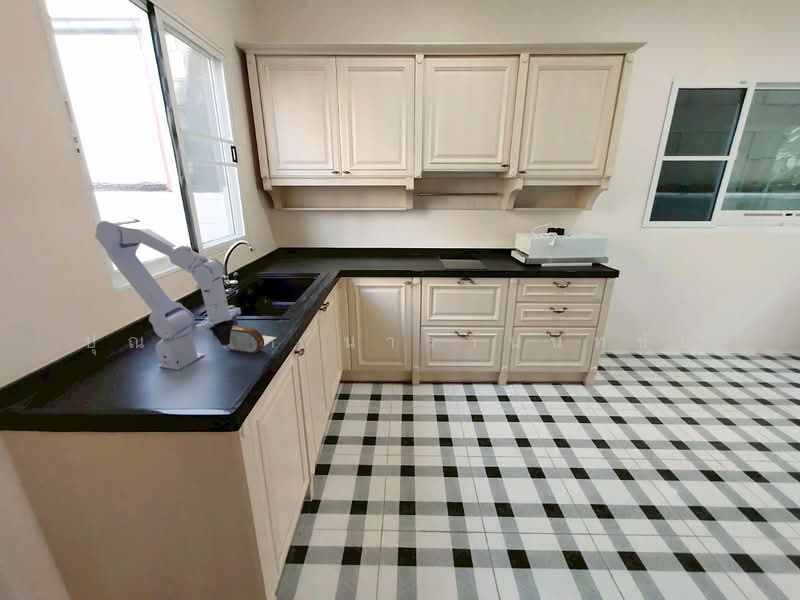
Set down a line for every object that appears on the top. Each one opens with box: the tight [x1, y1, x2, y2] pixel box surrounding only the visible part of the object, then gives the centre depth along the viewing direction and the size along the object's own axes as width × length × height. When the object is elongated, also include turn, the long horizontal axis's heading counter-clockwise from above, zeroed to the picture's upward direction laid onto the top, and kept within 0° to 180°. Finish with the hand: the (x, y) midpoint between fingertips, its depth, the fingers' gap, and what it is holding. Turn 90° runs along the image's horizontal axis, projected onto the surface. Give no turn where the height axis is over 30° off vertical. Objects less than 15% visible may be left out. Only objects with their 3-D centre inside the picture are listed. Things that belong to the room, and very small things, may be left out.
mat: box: [261, 334, 277, 347], centre depth 115 cm, size 8×10×1 cm
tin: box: [226, 325, 265, 354], centre depth 108 cm, size 15×3×8 cm, turn 72°
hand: (225, 344), depth 102 cm, fingers closed
